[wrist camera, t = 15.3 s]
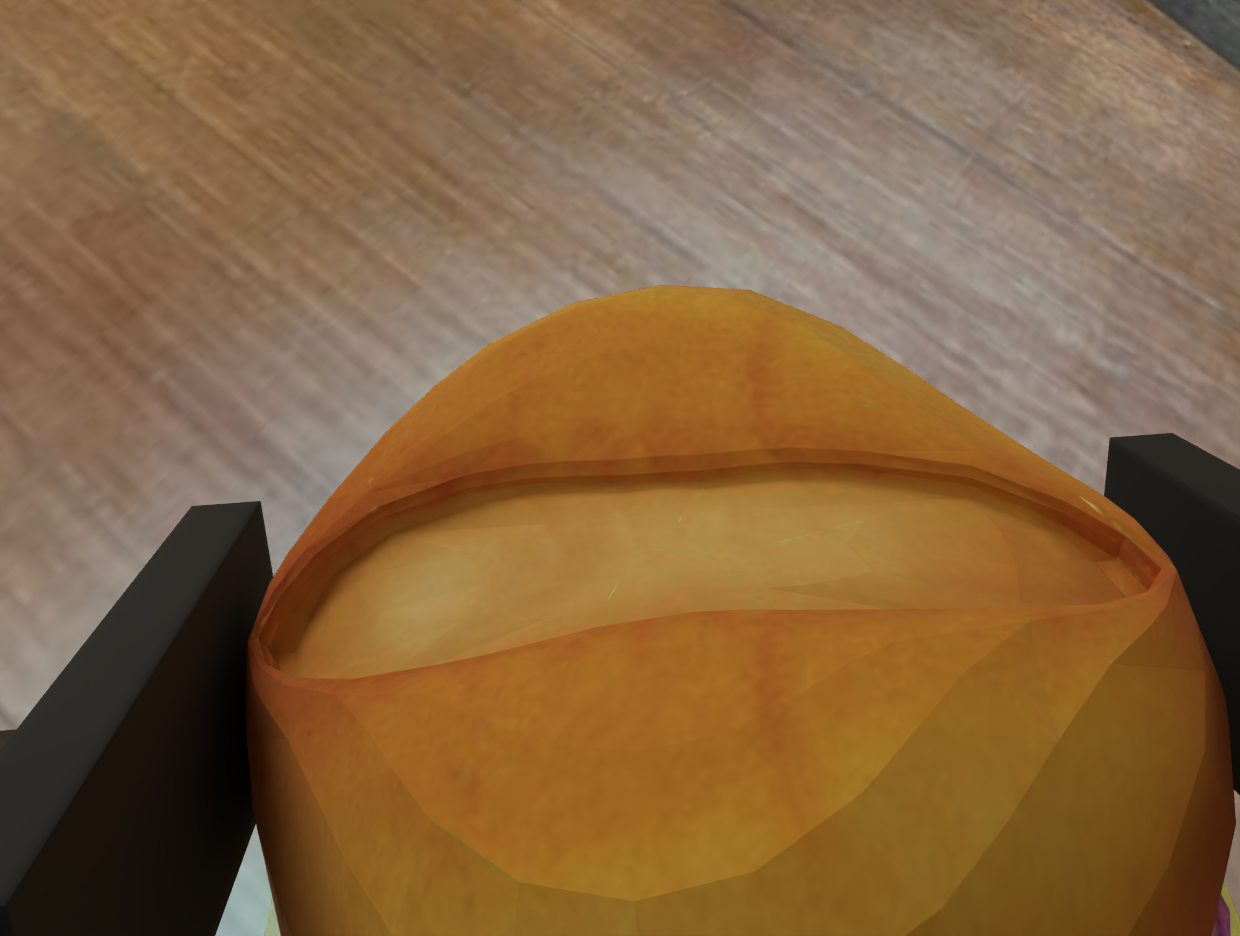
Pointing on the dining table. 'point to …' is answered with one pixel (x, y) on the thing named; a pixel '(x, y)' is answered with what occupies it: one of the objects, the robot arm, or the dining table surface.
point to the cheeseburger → (728, 659)
